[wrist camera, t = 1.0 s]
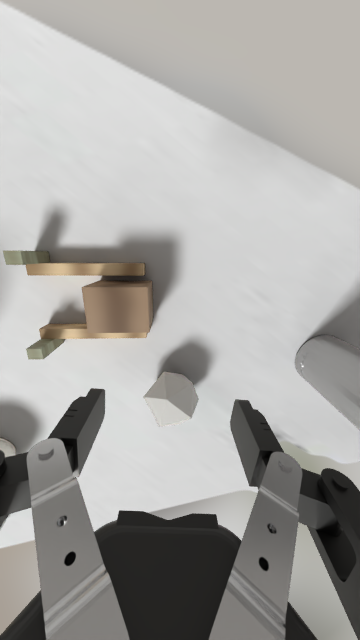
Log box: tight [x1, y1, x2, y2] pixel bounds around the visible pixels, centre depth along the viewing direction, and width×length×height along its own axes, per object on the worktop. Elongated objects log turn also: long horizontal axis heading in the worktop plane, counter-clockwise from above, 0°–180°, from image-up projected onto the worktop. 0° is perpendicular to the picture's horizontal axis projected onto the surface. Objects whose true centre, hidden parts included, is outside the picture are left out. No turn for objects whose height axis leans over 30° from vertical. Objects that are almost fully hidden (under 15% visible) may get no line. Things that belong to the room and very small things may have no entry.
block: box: [82, 280, 153, 333], centre depth 30 cm, size 8×6×7 cm
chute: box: [3, 251, 147, 359], centre depth 30 cm, size 16×14×6 cm
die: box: [144, 372, 199, 427], centre depth 35 cm, size 8×9×10 cm
